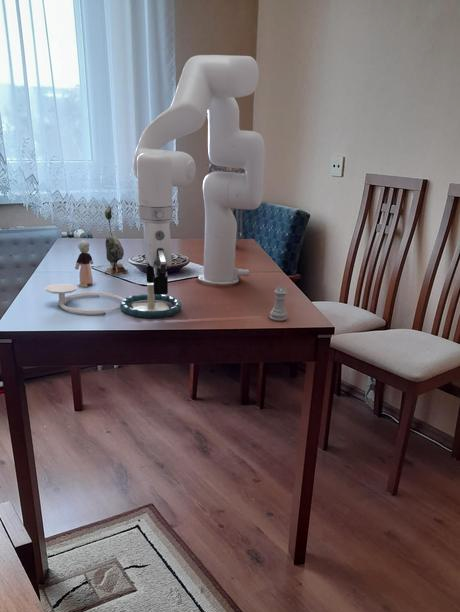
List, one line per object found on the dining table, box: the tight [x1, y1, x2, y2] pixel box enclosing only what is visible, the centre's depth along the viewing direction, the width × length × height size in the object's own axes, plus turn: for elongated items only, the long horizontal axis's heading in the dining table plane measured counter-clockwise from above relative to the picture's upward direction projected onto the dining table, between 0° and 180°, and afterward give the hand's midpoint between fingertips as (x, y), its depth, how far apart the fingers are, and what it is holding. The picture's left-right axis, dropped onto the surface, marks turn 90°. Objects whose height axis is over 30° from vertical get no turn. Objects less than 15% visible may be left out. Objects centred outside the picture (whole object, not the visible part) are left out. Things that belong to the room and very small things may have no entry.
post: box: [130, 282, 170, 311], centre depth 140 cm, size 9×9×7 cm
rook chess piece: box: [269, 286, 288, 322], centre depth 140 cm, size 4×4×8 cm
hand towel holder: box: [44, 282, 125, 316], centre depth 143 cm, size 17×4×21 cm
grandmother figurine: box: [74, 239, 94, 288], centre depth 158 cm, size 8×4×13 cm, turn 168°
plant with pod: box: [104, 205, 130, 276], centre depth 170 cm, size 8×11×20 cm
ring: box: [119, 293, 182, 319], centre depth 140 cm, size 15×15×2 cm
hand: (157, 288), depth 133 cm, fingers open, 9 cm apart
